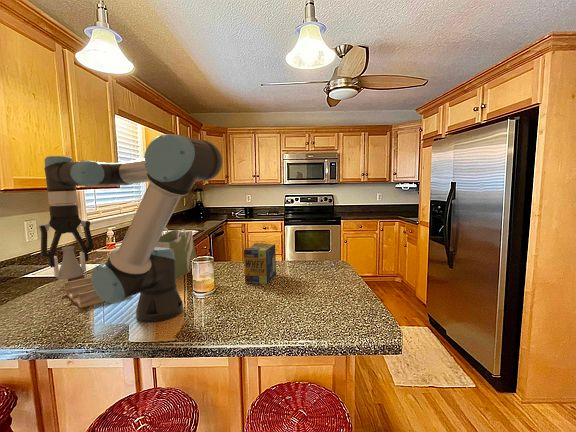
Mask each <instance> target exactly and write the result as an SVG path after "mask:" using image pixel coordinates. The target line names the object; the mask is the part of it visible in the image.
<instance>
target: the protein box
mask: <svg viewBox="0 0 576 432" xmlns="http://www.w3.org/2000/svg"><path fill="white" fill-rule="evenodd" d="M276 255H277V254H276V243H263V242H262V243H260V242H258V243H257V242H255V243H253V244H251V245H250V246H247V248H245V249H243V264H244V267H243V268H244V284H247V285H248V284H249V285H265V286H266V285H268V284H269V283H270V282H271V281H272V280H273V279H274V278H275V277H276V275H277V263H276V262H277V261H276V260H277V258H276V257H277V256H276Z"/></svg>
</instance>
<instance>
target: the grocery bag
mask: <svg viewBox="0 0 576 432" xmlns="http://www.w3.org/2000/svg"><path fill="white" fill-rule="evenodd" d="M164 231H166V233H163V234H162V235H161V237H160V239H159V241H158V243H157V245H156V247H163V248H170V249H172V250H173V251H174V257H175V269H176V280H178V279H179V278H181V277H182V276H183V277H184V276H185V275H187V274H188V273H190V272H191V271H192V270H191V260H192V259H194V258H197V259H198V257H197V256H198V255H197V253H196V252H197V251H196V247H195V244H194V238H193V231H192V230H188V231H186V229H185V228H182V229H180V230H177V229H173V230H171V231H169V229H168V228H167V227H165V229H164Z"/></svg>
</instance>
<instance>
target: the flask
mask: <svg viewBox="0 0 576 432" xmlns="http://www.w3.org/2000/svg"><path fill="white" fill-rule="evenodd" d="M73 249H74V247H73V246H70V245H69V246H64V247H62V248H61V250H62V252H63V253H62V261H61V264H60V268H59V277H56V279H59V280H68V279H71V278H75V277H79V276H82V275H85V274H86V272H83V270H82V268H81V264H80V265H79V263H78V261H77V260H76V258H77V257H76V258H75V255H74V250H73Z"/></svg>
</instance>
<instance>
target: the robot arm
mask: <svg viewBox="0 0 576 432" xmlns="http://www.w3.org/2000/svg"><path fill="white" fill-rule="evenodd" d="M143 157H144V158H141V159H135V160H129V161H122V162H115V163H114V162H99V161H97V162H96V161H94V160H84V159H83V160H80V161H79V160H78V161H74V160H73V158H72V157H70V156H66V155H64V156H63V155H48V156H45V158H44V168H43V169H44V172H45V181H46V183H45V184H46V189H47V199H48V205H50V206H49V218H50V219H49V221H48V223H45V224H40V225H38V228H39V231H40V255H41V256H42V257H43V258H48V264H49V265H48V266H49V267H50V268H53V271H54V273H53V274H54V277H56V278H57V277H59V270H60V268H59V260H58V256H56V252H57V248H58V246H59V244H60V243H59V242H60V239H61V237H62V235H64V234H66V233H68V234H69V233H70V234H72V235H73V237H74V239H75V241H76V242H77V245H78V247H80V249H81V251H80V252H79V259H80V267H81V268H82V270H83V272H84V273H86V272H87V267H86V264H87V263H86V262H88V261H89V252H90V251H91V250H94V248H95V247H94V242H93V238H92V233H91V229H90V227H91V221H89V220H81V218H80V216H79V207H78V204H77V203H78V196H77V186H79V187H82V186H83V187H89V186H90V187H91V186H93V187H94V186H129V185H130V186H131V185H134V184H139V183H146V182H147V183H148V185H147V188H146V190H145V192H144V194H143V197H142V199H141V201H140V202H139V205H138V207H137V210H136V212H135V213H134V216H133V217H132V220H131V222H130V224H129V227H128V229H127V231H126V233H125V236H124V237H123V240H122V242H121V243H120V246H119V247H117V248H114V249H113V250H112V251H111V252H110V254H109V256H108V258H107V260H106V262H105V263H101V264H98V265H96V266H95V267H93V270H92V271H91V274H90V275H91V276H90V277H91V280H92V285H93V288H94V290H95V292H96V293H97V295H98V296H99V297H100V298H101V299H102V300H104V301H105V302H106V303H111V304H113V303H117V302H121V301H124V300H125V299H128V298H129V297H132V296H134V295H137V294H139V298H138V302H137V306H136V309H135V318H136V320H138V321H140V322H146V323H155V322H156V323H157V322H162V321H166V320H169V319H172V318H175V317H176V316H179V315H180V314H182V312H183V310H184V303H183V299H182V297H181V296H180V293H179V292H178V287H177V279H176V269H175V257H174V251H173V250H172V249H170V248H163V247H156V245H157V243H158V241H159V239H160V237H161V236H162V235H163V234H164V231H165V230H164V229H165V228H167V225H168V223H169V221H170V219H171V217H172V216H173V213H174V211H175V209H176V208H177V205H178V203H179V201H180V200H181V197H185V196H188V195H189V194H190V192H191V190H192V189H193V187H194V185H195V183H196V182H206V181H211V180H213V179H214V178H215V177H217V176H218V175H219V174H220V172H221V170H222V168H223V156H222V153H221V151H220V150H219V148H218V146H217V145H215V144H214V143H212V142H210V141H208V140H204V139H200V138H199V139H198V138H194V137H188V136H184V135H182V134H176V133H175V134H172V133H171V134H170V133H166V134H165V133H164V134H162V135H159V136H156V137H155V138H154V139H152V140H151V141H150V143H149V144H148V145H147V147H146V149H145V151H144V156H143ZM80 225H81V227H82V228H83V232H84V238H85V241H86V243H85V242H84V240H83V238H82V236H81V235H80V233H79V231H78V228H79V226H80ZM50 227H51V228H52V229H53V230H54V234H53V238H52V241H51V245H50V247H49V249H48V231H49V230H50ZM48 250H49V251H48Z"/></svg>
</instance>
